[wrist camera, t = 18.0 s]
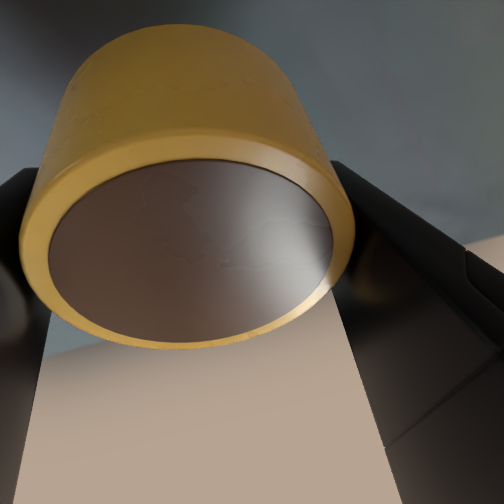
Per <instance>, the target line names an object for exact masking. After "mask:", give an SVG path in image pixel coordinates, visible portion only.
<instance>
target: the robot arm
mask: <svg viewBox="0 0 504 504" xmlns="http://www.w3.org/2000/svg"><path fill="white" fill-rule="evenodd" d="M330 162H331V164H332V166H333V168H334V170H335V172H336V174H337V176H338V178H339V181H340V183H341V185H342V187H343V189H344V191H345V193H346V195H347V197H348V199H349V201H350V203H351V206H352V210H353V214H354V218H355V238H354V246H353V250H352V254H351V257H350V260H349V262H348V264H347V266H346V268H345V270H344V272H343V274H342V275H341V277H340V278H339V280H338V281H337V282H336V284H335V285H334V286H333V287H332V292H333V295H334V298H335V301H336V304H337V307H338V310H339V313H340V316H341V320H342V322H343V326H344V328H345V331H346V335H347V338H348V341H349V344H350V347H351V349H352V352H353V356H354V358H355V362H356V364H357V368H358V371H359V374H360V377H361V379H362V382H363V386H364V389H365V392H366V395H367V398H368V401H369V404H370V407H371V410H372V413H373V416H374V419H375V422H376V424H377V428H378V431H379V434H380V437H381V440H382V443H383V446H384V447H385V453H386V456H387V458H388V462H389V465H390V467H391V471H392V474H393V477H394V480H395V483H396V486H397V489H398V492H399V495H400V498H401V501H402V504H504V273H502V272H500V271H499V270H497V269H496V268H494V267H493V266H491V265H489V264H488V263H487V262H485V261H484V260H482V259H481V258H479V257H478V256H476V255H475V254H473V253H472V252H471V251H469V250H468V251H466V249H465V247H463V246H462V245H460V244H459V243H457V242H456V241H454V240H453V239H451V238H450V237H449V236H447V235H446V234H444V233H443V232H441V231H440V230H438V229H437V228H435V227H434V226H432V225H431V224H429V223H428V222H427V221H425V220H424V219H422V218H421V217H419V216H418V215H416V214H415V213H413V212H412V211H410V210H409V209H407V208H406V207H405V206H403V205H402V204H400V203H399V202H397V201H396V200H394V199H393V198H391V197H390V196H388V195H387V194H385V193H384V192H383V191H381V190H380V189H378V188H377V187H375V186H374V185H372V184H371V183H369V182H368V181H366V180H365V179H364V178H362V177H361V176H359V175H358V174H356V173H355V172H353V171H352V170H350V169H349V168H347V167H346V166H344V165H343V164H342V163H340V162H338V161H330ZM38 170H39V168H24V169H22V170H21V171H19V172H18V173H17V174H15V175H14V176H13V177H11V178H10V179H9V180H7V181H6V182H5V183H4V184H2V185H1V186H0V504H13V500H14V495H15V490H16V485H17V480H18V475H19V470H20V465H21V460H22V455H23V451H24V446H25V441H26V436H27V431H28V426H29V421H30V416H31V411H32V406H33V401H34V396H35V391H36V386H37V381H38V376H39V372H40V367H41V361H42V357H43V352H44V347H45V342H46V337H47V332H48V327H49V322H50V317H51V312H52V311H51V310H50V309H49V308H48V307H47V306H46V305H45V304H44V303H43V302H42V301H41V300H40V299H39V298H38V297H37V295H36V294H35V292H34V291H33V290H32V288H31V287H30V285H29V283H28V281H27V279H26V277H25V274H24V272H23V269H22V266H21V261H20V256H19V232H20V228H21V224H22V220H23V216H24V213H25V210H26V207H27V204H28V201H29V198H30V195H31V192H32V189H33V186H34V182H35V179H36V176H37V173H38Z"/></svg>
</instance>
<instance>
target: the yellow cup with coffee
mask: <svg viewBox="0 0 504 504" xmlns="http://www.w3.org/2000/svg"><path fill="white" fill-rule="evenodd" d="M354 238H355V218H354V214H353V210H352V206H351V203H350V201H349V199H348V197H347V195H346V193H345V191H344V189H343V187H342V185H341V183H340V181H339V178H338V176H337V174H336V172H335V170H334V168H333V166H332V164H331V162H330V160H329V158H328V156H327V154H326V152H325V150H324V148H323V146H322V144H321V142H320V140H319V138H318V136H317V134H316V132H315V130H314V128H313V125H312V123H311V121H310V119H309V117H308V115H307V113H306V111H305V109H304V107H303V105H302V103H301V101H300V99H299V97H298V95H297V93H296V91H295V89H294V87H293V85H292V83H291V82H290V80H289V79H288V77H287V76H286V75H285V73H284V72H283V71H282V69H281V68H280V67H279V66H278V65H277V64H276V63H275V62H274V61H273V60H272V59H271V58H270V57H269V56H267V55H266V54H265V53H264V52H262V51H261V50H260V49H259V48H257V47H256V46H254V45H252V44H250V43H249V42H247V41H245V40H244V39H242V38H240V37H237V36H235V35H232V34H230V33H227V32H225V31H222V30H218V29H214V28H210V27H206V26H200V25H191V24H163V25H158V26H152V27H146V28H142V29H139V30H136V31H133V32H130V33H127V34H124V35H122V36H120V37H118V38H116V39H115V40H113V41H111V42H109V43H107V44H105V45H104V46H103V47H101V48H100V49H99V50H97V51H96V52H95V53H93V54H92V55H91V56H90V57H89V58H88V59H87V60H86V61H85V62H84V63H83V64H82V65H81V66H80V67H79V68H78V70H77V71H76V73H75V74H74V76H73V77H72V79H71V80H70V82H69V83H68V86H67V88H66V90H65V92H64V94H63V97H62V99H61V102H60V105H59V108H58V112H57V115H56V118H55V121H54V124H53V127H52V130H51V133H50V136H49V139H48V142H47V145H46V149H45V152H44V155H43V158H42V161H41V164H40V167H39V170H38V173H37V176H36V179H35V182H34V186H33V189H32V192H31V195H30V198H29V201H28V204H27V207H26V210H25V213H24V216H23V220H22V224H21V228H20V232H19V256H20V261H21V266H22V269H23V272H24V274H25V277H26V279H27V281H28V283H29V285H30V287H31V288H32V290H33V291H34V292H35V294H36V295H37V297H38V298H39V299H40V300H41V301H42V302H43V303H44V304H45V305H46V306H47V307H48V308H49V309H50V310H51V311H52V312H54V313H55V314H56V315H58V316H59V317H60V318H61V319H63V320H65V321H66V322H68V323H70V324H71V325H73V326H75V327H77V328H79V329H81V330H83V331H85V332H87V333H89V334H92V335H95V336H97V337H100V338H103V339H106V340H110V341H113V342H117V343H120V344H125V345H130V346H136V347H144V348H152V349H168V350H169V349H170V350H172V349H174V350H175V349H196V348H207V347H213V346H220V345H225V344H230V343H235V342H238V341H242V340H246V339H249V338H252V337H255V336H258V335H261V334H264V333H266V332H269V331H271V330H273V329H276V328H278V327H280V326H282V325H284V324H286V323H288V322H290V321H291V320H293V319H295V318H296V317H298V316H300V315H301V314H303V313H304V312H306V311H307V310H308V309H310V308H311V307H312V306H314V305H315V304H316V303H317V302H319V301H320V300H321V299H322V298H323V297H324V296H325V295H326V294H327V293H328V292H329V291H330V290H331V289H332V287H333V286H334V285H335V284H336V282H337V281H338V280H339V278H340V277H341V275H342V274H343V272H344V270H345V268H346V266H347V264H348V262H349V260H350V257H351V254H352V250H353V246H354Z"/></svg>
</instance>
